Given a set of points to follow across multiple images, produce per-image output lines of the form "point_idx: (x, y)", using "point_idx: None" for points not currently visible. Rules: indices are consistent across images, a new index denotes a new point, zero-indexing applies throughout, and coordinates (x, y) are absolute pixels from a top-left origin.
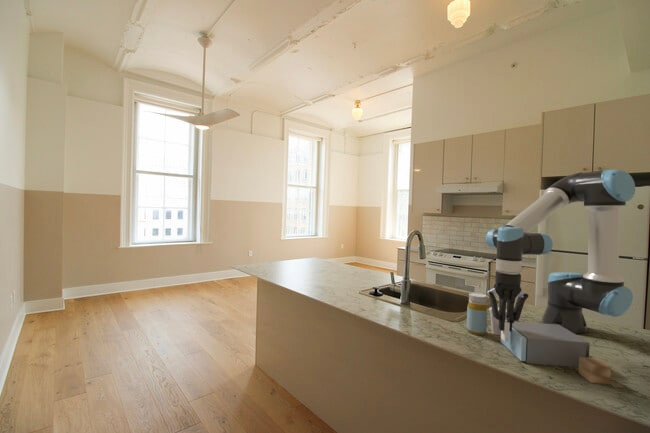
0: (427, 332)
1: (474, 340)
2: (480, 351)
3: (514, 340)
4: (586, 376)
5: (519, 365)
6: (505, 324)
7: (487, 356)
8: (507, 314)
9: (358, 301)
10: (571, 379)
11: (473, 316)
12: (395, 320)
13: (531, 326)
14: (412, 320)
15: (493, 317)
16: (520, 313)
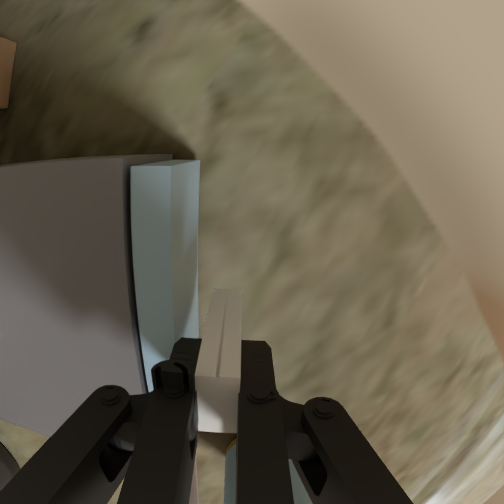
0: (464, 397)
1: (324, 378)
2: (364, 264)
3: (184, 270)
4: (6, 63)
5: (230, 121)
6: (237, 365)
7: (358, 210)
8: (190, 464)
9: (482, 496)
10: (64, 40)
11: (307, 497)
12: (488, 441)
13: (29, 390)
14: (444, 461)
15: (192, 500)
16: (53, 439)
